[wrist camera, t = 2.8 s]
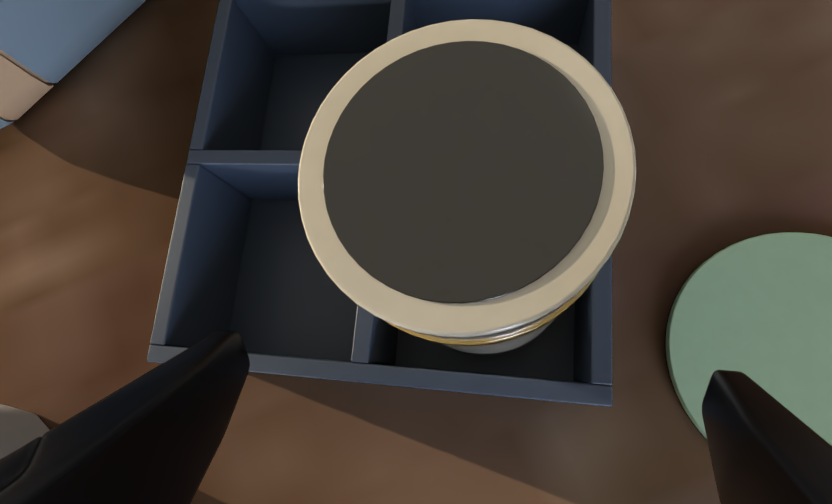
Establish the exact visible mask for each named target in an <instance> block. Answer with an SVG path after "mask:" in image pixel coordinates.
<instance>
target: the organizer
mask: <svg viewBox="0 0 832 504" xmlns="http://www.w3.org/2000/svg"><path fill="white" fill-rule="evenodd" d="M466 19H484V20H497V21H504V22H510V23H515V24H518V25H522V26H526V27H530V28H533V29H535V30H538V31H540V32H542V33H545V34H547V35H550V36H552V37H554V38H555V39H557V40H559V41H561V42H562V43H564V44H566V45H568V46H569V47H571V48H572V49H573V50H575V51H576V52H577V53H579V54H580V55H581V56H583V57H584V58H585V59H586V60H587V61H588V62H589V63H590V64H591V65H592V66H593V67H594V68H595V69H596V70H597V71H598V72H599V73H600V74H601V75H602V76H603V78H604V79H605V80H606V82H607V83H608V84H609V86H610V87H611V0H219V5H218V10H217V15H216V20H215V25H214V30H213V35H212V39H211V44H210V49H209V54H208V59H207V64H206V69H205V74H204V79H203V84H202V89H201V94H200V99H199V104H198V109H197V114H196V119H195V124H194V129H193V133H192V138H191V143H190V150H189V153H188V158H187V165H186V167H185V172H184V177H183V182H182V187H181V192H180V197H179V202H178V207H177V212H176V217H175V222H174V227H173V232H172V237H171V242H170V247H169V251H168V256H167V261H166V266H165V271H164V276H163V281H162V286H161V291H160V296H159V301H158V306H157V311H156V316H155V321H154V326H153V331H152V336H151V341H150V344H152V345H150V346H149V351H148V356H147V361H148V362H155V363H164V362H166V361H168V360H169V359H171V358H173V357H174V356H176V355H178V354H179V353H181V352H183V351H185V350H186V349H188V348H190V347H191V346H193V345H195V344H196V343H198V342H200V341H201V340H203V339H205V338H206V337H208V336H210V335H212V334H213V333H215V332H217V331H219V330H230V331H237V332H239V333H240V334H241V336H242V339H243V341H244V344H245V347H246V350H247V353H248V356H249V360H250V368H249V372H257V373H267V374H277V375H288V376H298V377H308V378H318V379H329V380H339V381H349V382H359V383H369V384H380V385H390V386H400V387H410V388H421V389H431V390H441V391H451V392H461V393H472V394H482V395H492V396H502V397H513V398H523V399H533V400H543V401H553V402H564V403H574V404H584V405H594V406H605V407H611V406H612V387H611V386H610V385H612V254H611V256H610V258H609V259H608V260H607V262H606V263H605V264H604V265H603V267H602V268H601V269H600V271H599V273H598V274H597V276H596V278H595V279H594V280H593V281H592V283H591V284H590V285H589V286H588V288H587V289H586V290H585V292H584V293H583V294H582V295H581V296H580V297H579V298H578V299H577V300H576V301H575V302H574V303H573V304H572V305H571V306H570V307H569V308H568V309H567V310H566V311H565V312H563V313H562V314H561V315H559V316H558V317H557V318H555V320H554V321H553V322H552V323H551V324H550V325H549V326H548V327H547V328H546V329H545V330H544V331H543V332H542V333H541V334H540V335H539V336H538V337H537V338H536V339H535V340H534V341H533V342H531V343H530V344H529V345H527V346H526V347H524V348H522V349H520V350H518V351H516V352H513V353H510V354H507V355H503V356H497V357H479V356H473V355H469V354H466V353H463V352H460V351H458V350H455V349H453V348H450V347H448V346H445V345H443V344H440V343H434V342H431V341H428V340H425V339H422V338H419V337H416V336H413V335H410V334H408V333H406V332H404V331H402V330H400V329H398V328H395V327H393V326H392V325H390V324H389V323H387V322H386V321H384V320H382V319H380V318H378V317H376V316H374V315H373V314H371V313H370V312H368V311H366V310H365V309H363V308H362V307H360V306H359V305H357V304H356V303H355V302H354V301H352V300H351V299H350V298H349V297H348V296H347V295H346V294H344V293H343V292H342V291H341V290H340V289H339V288H338V287H337V285H336V284H335V283H334V282H333V281H332V280H331V279H330V277H329V276H328V275H327V274H326V272H325V271H324V269H323V268H322V266H321V264H320V263H319V261H318V260H317V258H316V257H315V255H314V252H313V250H312V248H311V246H310V244H309V242H308V239H307V236H306V233H305V230H304V227H303V223H302V220H301V214H300V208H299V201H298V173H299V164H300V158H301V153H302V149H303V145H304V141H305V138H306V136H307V133H308V130H309V128H310V125H311V123H312V121H313V119H314V117H315V115H316V113H317V111H318V109H319V107H320V105H321V104H322V102H323V101H324V99H325V98H326V97H327V95H328V94H329V92H330V91H331V89H332V88H333V87H334V86H335V85H336V83H337V82H338V81H339V80H340V79H341V78H342V77H343V75H344V74H345V73H346V72H348V71H349V70H350V69H351V68H352V67H353V66H354V65H355V64H356V63H357V62H358V61H360V60H361V59H362V58H364V57H365V56H366V55H368V54H369V53H370V52H372V51H373V50H375V49H376V48H378V47H380V46H381V45H383V44H385V43H387V42H388V41H390V40H392V39H394V38H396V37H398V36H401V35H403V34H405V33H407V32H410V31H412V30H416V29H419V28H422V27H425V26H428V25H432V24H437V23H442V22H447V21H454V20H466Z"/></svg>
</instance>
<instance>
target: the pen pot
mask: <svg viewBox="0 0 832 504" xmlns="http://www.w3.org/2000/svg"><path fill="white" fill-rule="evenodd" d="M636 175H637V169H636V152H635V146H634V142H633V137H632V132H631V128H630V126H629V123H628V120H627V118H626V115H625V112H624V110H623V108H622V106H621V104H620V102H619V100H618V99H617V97H616V95H615V93H614V91H613V90H612V88H611V87H610V86H609V84H608V83H607V82H606V80H605V79H604V78H603V76H602V75H601V74H600V73H599V72H598V71H597V70H596V69H595V68H594V67H593V66H592V65H591V64H590V63H589V62H588V61H587V60H586V59H585V58H584V57H583V56H581V55H580V54H579V53H577V52H576V51H575V50H573V49H572V48H571V47H569V46H568V45H566V44H564V43H562V42H561V41H559V40H557V39H555V38H554V37H552V36H550V35H547V34H545V33H542V32H540V31H538V30H535V29H533V28H530V27H526V26H522V25H518V24H515V23H510V22H504V21H497V20H484V19H466V20H454V21H447V22H442V23H437V24H432V25H428V26H425V27H422V28H419V29H416V30H412V31H410V32H407V33H405V34H403V35H401V36H398V37H396V38H394V39H392V40H390V41H388V42H387V43H385V44H383V45H381V46H380V47H378V48H376V49H375V50H373V51H372V52H370V53H369V54H368V55H366V56H365V57H364V58H362V59H361V60H360V61H358V62H357V63H356V64H355V65H354V66H353V67H352V68H351V69H350V70H349V71H348V72H346V73H345V74H344V75H343V77H342V78H341V79H340V80H339V81H338V82H337V83H336V85H335V86H334V87H333V88H332V89H331V91H330V92H329V94H328V95H327V97H326V98H325V99H324V101H323V102H322V104H321V105H320V107H319V109H318V111H317V113H316V115H315V117H314V119H313V121H312V123H311V125H310V128H309V130H308V133H307V136H306V138H305V141H304V145H303V149H302V153H301V158H300V164H299V173H298V201H299V208H300V214H301V220H302V223H303V227H304V230H305V233H306V236H307V239H308V242H309V244H310V246H311V248H312V250H313V252H314V255H315V257H316V258H317V260H318V261H319V263H320V264H321V266H322V268H323V269H324V271H325V272H326V274H327V275H328V276H329V277H330V279H331V280H332V281H333V282H334V283H335V284H336V285H337V287H338V288H339V289H340V290H341V291H342V292H343V293H344V294H346V295H347V296H348V297H349V298H350V299H351V300H352V301H354V302H355V303H356V304H357V305H359V306H360V307H362V308H363V309H365V310H366V311H368V312H370V313H371V314H373V315H374V316H376V317H378V318H380V319H382V320H384V321H386V322H387V323H389V324H390V325H392V326H393V327H395V328H398V329H400V330H402V331H404V332H406V333H408V334H410V335H413V336H416V337H419V338H422V339H425V340H428V341H431V342H434V343H440V344H443V345H445V346H448V347H450V348H453V349H455V350H458V351H460V352H463V353H466V354H469V355H473V356H479V357H497V356H503V355H507V354H510V353H513V352H516V351H518V350H520V349H522V348H524V347H526V346H527V345H529V344H530V343H531V342H533V341H534V340H535V339H536V338H537V337H538V336H539V335H540V334H541V333H542V332H543V331H544V330H545V329H546V328H547V327H548V326H549V325H550V324H551V323H552V322H553V321H554V320H555V318H557V317H558V316H559V315H561V314H562V313H563V312H565V311H566V310H567V309H568V308H569V307H570V306H571V305H572V304H573V303H574V302H575V301H576V300H577V299H578V298H579V297H580V296H581V295H582V294H583V293H584V292H585V290H586V289H587V288H588V286H589V285H590V284H591V283H592V281H593V280H594V279H595V278H596V276H597V274H598V273H599V271H600V269H601V268H602V267H603V265H604V264H605V263H606V262H607V260H608V259H609V258H610V256H611V254H612V252H613V251H614V249H615V247H616V245H617V244H618V242H619V240H620V239H621V236H622V234H623V231H624V229H625V226H626V224H627V221H628V219H629V216H630V212H631V208H632V204H633V200H634V196H635V186H636Z"/></svg>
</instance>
